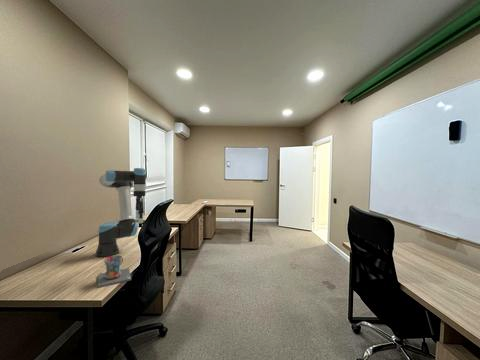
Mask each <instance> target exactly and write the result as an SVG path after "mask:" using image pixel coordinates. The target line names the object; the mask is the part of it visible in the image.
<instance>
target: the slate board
mask: <svg viewBox="0 0 480 360" xmlns="http://www.w3.org/2000/svg"><path fill="white" fill-rule="evenodd" d="M120 271H121V275H120V276H119V277H116V278H113V279H107V278H105V274H106V272H102V273H101V272H100V273H98V277H97V288H103V287H107V286H111V285H115V284H120V283H124V282H128V281H132V276H131V272H130V268H129V267H128V268H123V269H121V268H120Z"/></svg>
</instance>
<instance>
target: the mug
mask: <svg viewBox="0 0 480 360" xmlns="http://www.w3.org/2000/svg"><path fill="white" fill-rule="evenodd" d="M103 262H104V264H105V269H106V272H105V273H106V274H105V278H107V279H113V278H116V277H119V276H120V275H121V271H120V270H121V265H122V264H123V262H124V257H123V256H122V255H112V256H108V257H104V259H103Z"/></svg>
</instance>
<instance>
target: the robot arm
mask: <svg viewBox="0 0 480 360" xmlns="http://www.w3.org/2000/svg"><path fill="white" fill-rule="evenodd" d="M146 179H147V172H146V168H144V167H143V168H142V167H140V168H139V167H135V168H134V169H133V170H113V169H112V170H106V171H105V173H104V174H103V175H101V176H100V177H99V184H101V186H104V187H106V188H112V189H113V188H115V191H117V192H118V205H119V215H120V216H119V217H120V219H119V220H118V222H116V221H108V222H105V223H102V224H100V225H99V227H98V231H97V232H98V245H97V247H96V250H95V257H97V258H107V257H110V256H116V255H118V254H119V253H120V248H119V246H118V244H117V240H118V239H123V238H130V237H135V236H136V235H137V233H138V229H139V224H143V223H144V198H143V197H146V189H147V187H146V186H147V184H146V183H147V182H146ZM132 188H133V190H134V191H133V197H135V218H134V217H133V210H132V209H133V208H132V200H131V192H130V191H131V190H132ZM137 220H138V221H137Z"/></svg>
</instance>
